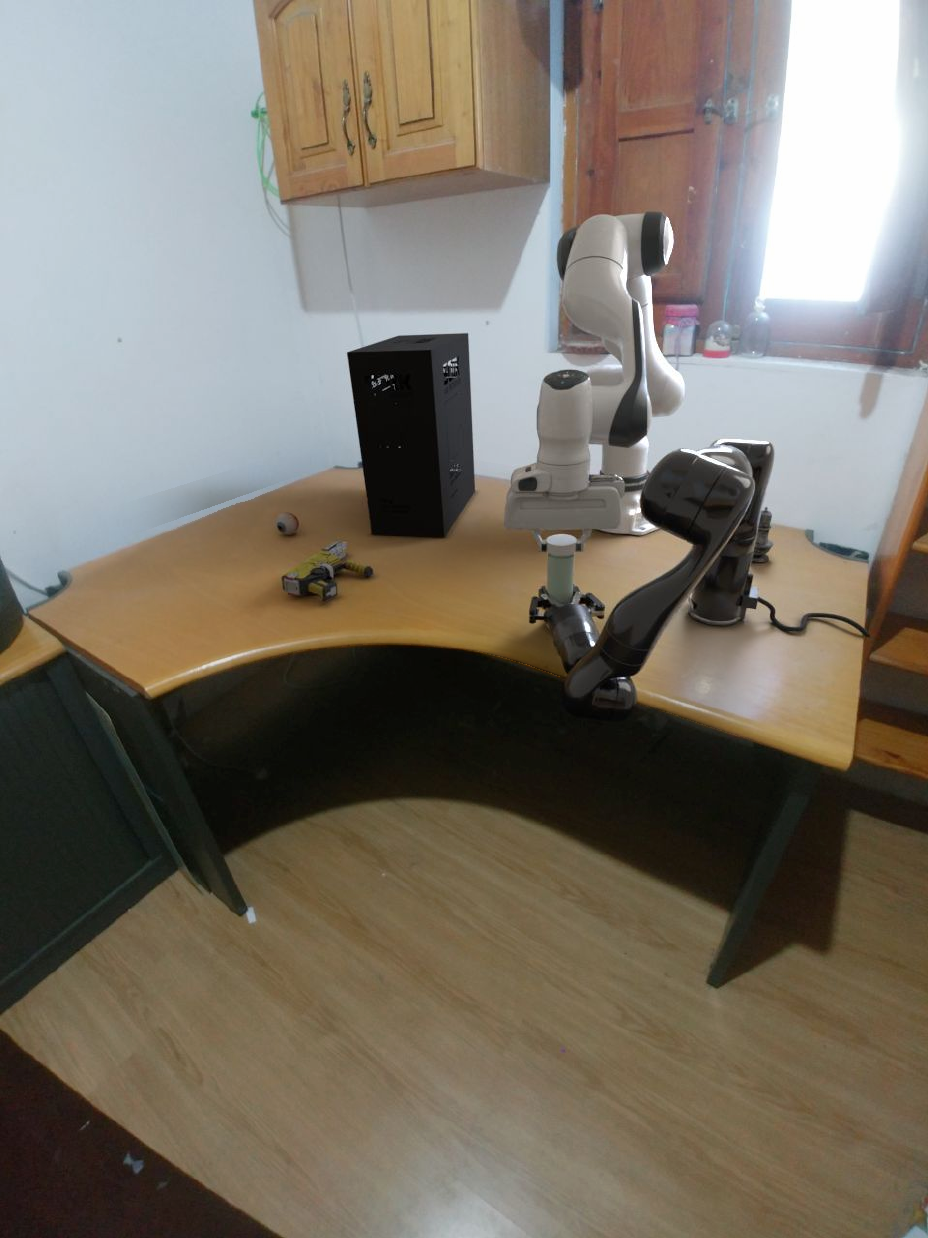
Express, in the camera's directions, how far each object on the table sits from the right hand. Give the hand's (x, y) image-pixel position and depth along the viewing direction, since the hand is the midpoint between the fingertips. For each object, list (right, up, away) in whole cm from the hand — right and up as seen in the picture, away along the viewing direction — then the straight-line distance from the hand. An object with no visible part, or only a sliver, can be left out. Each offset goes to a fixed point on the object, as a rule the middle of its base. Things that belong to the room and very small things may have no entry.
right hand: (557, 589), depth 115 cm
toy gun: (-47, +4, +24) cm, 53 cm away
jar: (+1, -7, +1) cm, 7 cm away
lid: (0, +8, -8) cm, 11 cm away
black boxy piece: (-28, +26, +60) cm, 71 cm away
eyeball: (-66, +17, +50) cm, 84 cm away
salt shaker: (+49, +8, +22) cm, 54 cm away
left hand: (0, +7, -7) cm, 10 cm away
